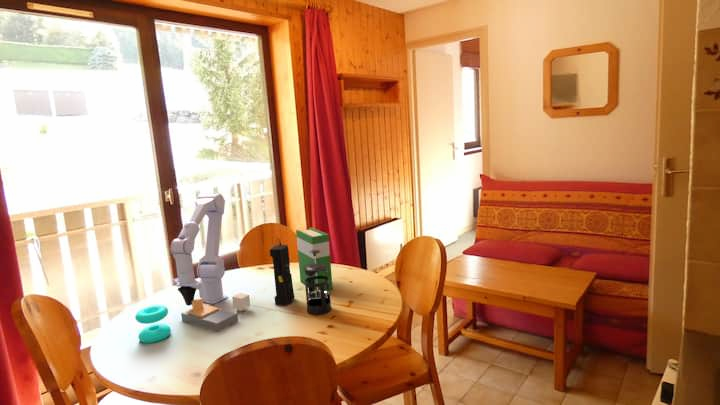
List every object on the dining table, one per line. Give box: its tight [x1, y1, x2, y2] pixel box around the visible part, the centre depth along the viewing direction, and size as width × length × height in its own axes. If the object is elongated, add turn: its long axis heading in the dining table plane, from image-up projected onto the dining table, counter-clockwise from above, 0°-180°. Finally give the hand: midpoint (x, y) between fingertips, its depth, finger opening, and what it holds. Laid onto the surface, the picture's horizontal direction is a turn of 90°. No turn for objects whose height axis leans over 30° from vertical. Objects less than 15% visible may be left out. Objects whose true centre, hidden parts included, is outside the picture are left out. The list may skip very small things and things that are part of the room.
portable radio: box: [269, 238, 296, 306], centre depth 168 cm, size 8×6×25 cm
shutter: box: [188, 297, 220, 318], centre depth 157 cm, size 8×8×4 cm
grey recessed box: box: [180, 308, 239, 332], centre depth 156 cm, size 20×9×3 cm, turn 58°
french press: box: [304, 250, 333, 316], centre depth 159 cm, size 12×9×23 cm
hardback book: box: [295, 226, 333, 291], centre depth 184 cm, size 18×7×24 cm, turn 30°
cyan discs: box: [135, 304, 172, 344], centre depth 146 cm, size 10×10×10 cm
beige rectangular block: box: [231, 292, 251, 313], centre depth 164 cm, size 5×4×6 cm
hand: (189, 304), depth 162 cm, fingers closed
